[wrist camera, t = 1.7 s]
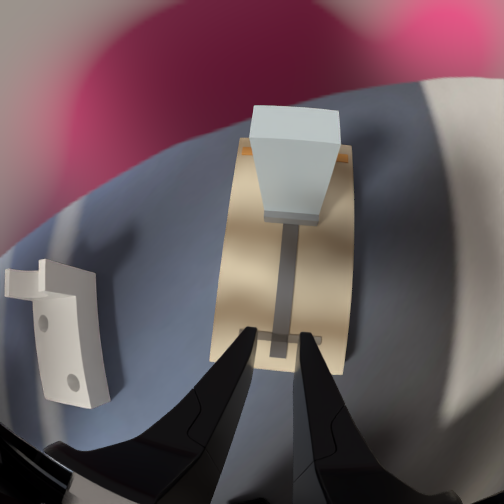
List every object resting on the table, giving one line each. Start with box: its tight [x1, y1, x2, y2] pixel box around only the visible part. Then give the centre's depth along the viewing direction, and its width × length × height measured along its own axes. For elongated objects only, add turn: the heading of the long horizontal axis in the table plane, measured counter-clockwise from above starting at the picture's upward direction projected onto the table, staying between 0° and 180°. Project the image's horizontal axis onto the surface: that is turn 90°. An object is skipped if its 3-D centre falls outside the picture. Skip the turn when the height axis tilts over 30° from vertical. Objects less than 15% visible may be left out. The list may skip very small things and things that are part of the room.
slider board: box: [210, 138, 354, 375], centre depth 22 cm, size 19×10×2 cm, turn 174°
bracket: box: [5, 259, 111, 409], centre depth 20 cm, size 13×7×8 cm, turn 8°
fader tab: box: [249, 106, 341, 226], centre depth 16 cm, size 3×4×10 cm
